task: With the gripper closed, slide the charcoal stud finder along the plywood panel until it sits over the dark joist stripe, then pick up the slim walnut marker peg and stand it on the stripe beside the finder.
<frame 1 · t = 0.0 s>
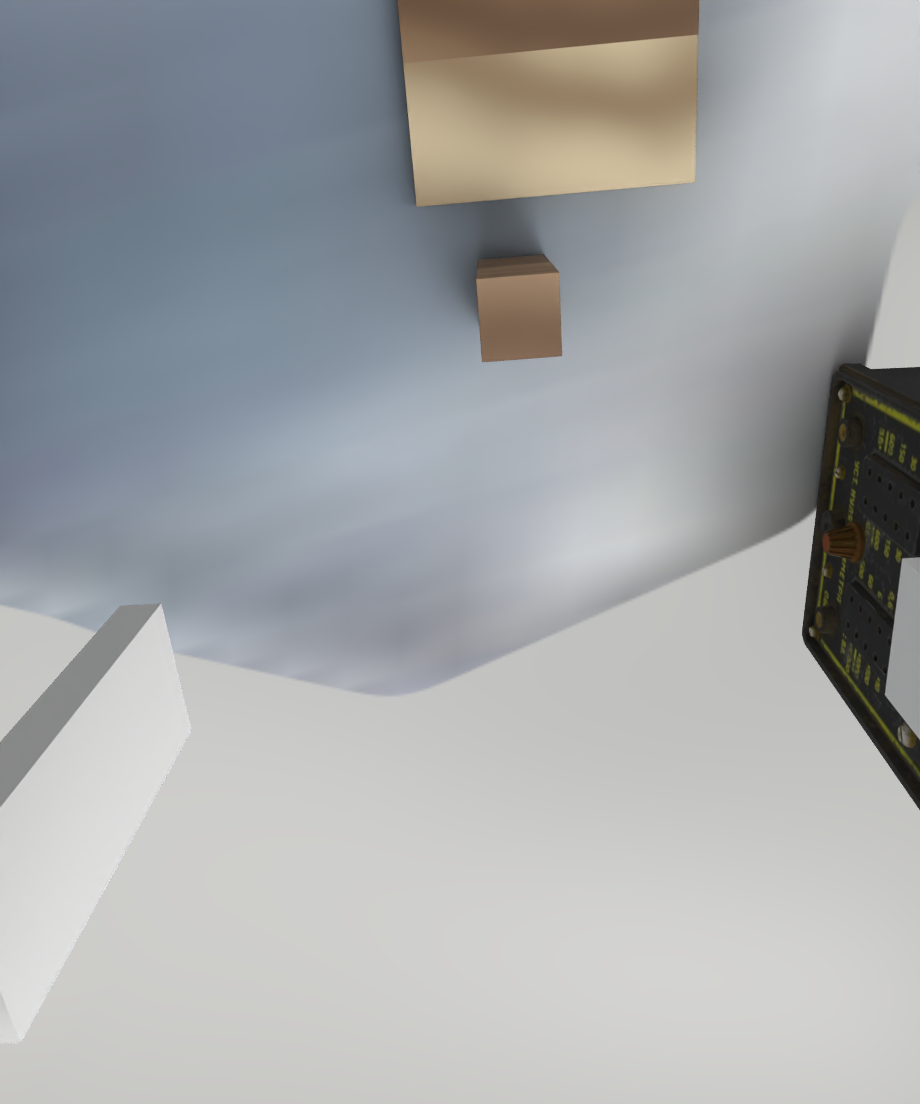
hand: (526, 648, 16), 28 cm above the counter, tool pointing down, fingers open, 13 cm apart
marker peg: (512, 291, 40), on the counter
voltmeter: (880, 506, 44), on the counter
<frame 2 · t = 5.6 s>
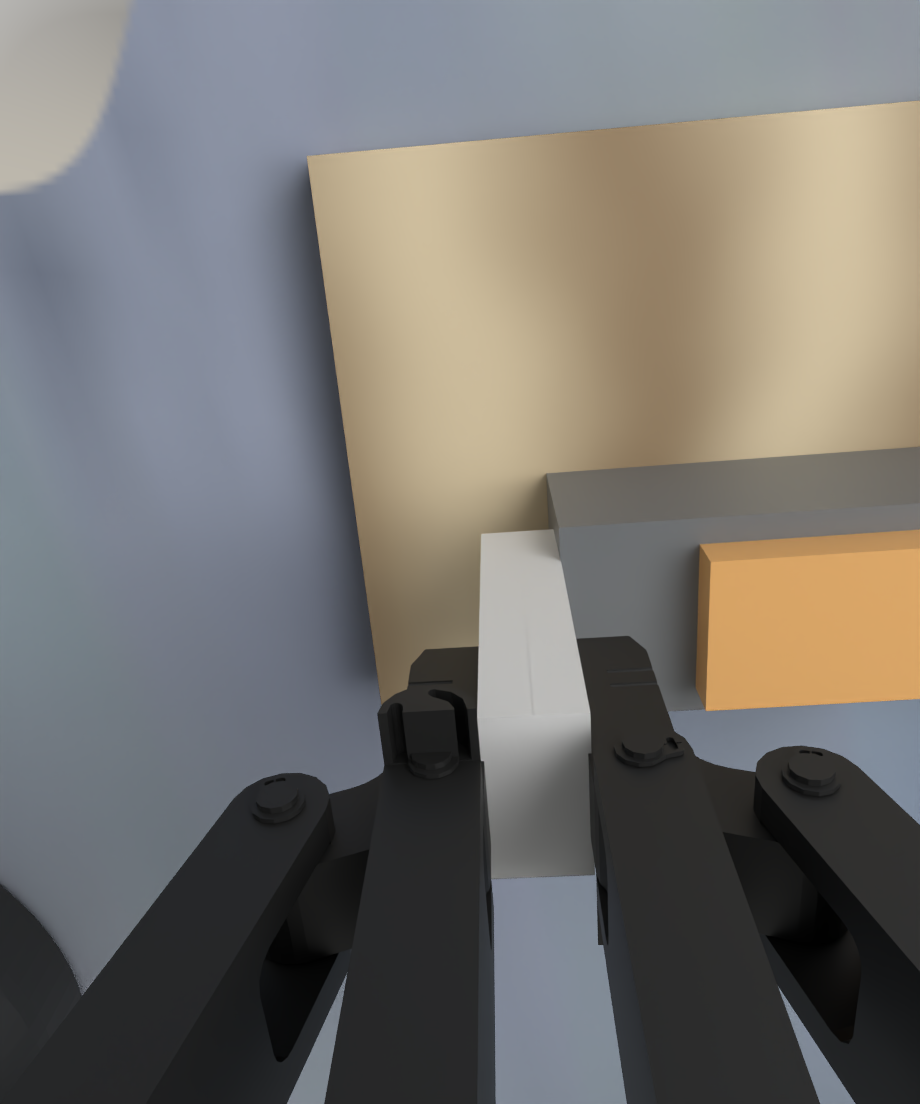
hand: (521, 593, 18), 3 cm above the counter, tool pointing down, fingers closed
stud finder: (732, 547, 19), point 1 cm above the counter, touching gripper
plywood panel: (898, 409, 19), on the counter
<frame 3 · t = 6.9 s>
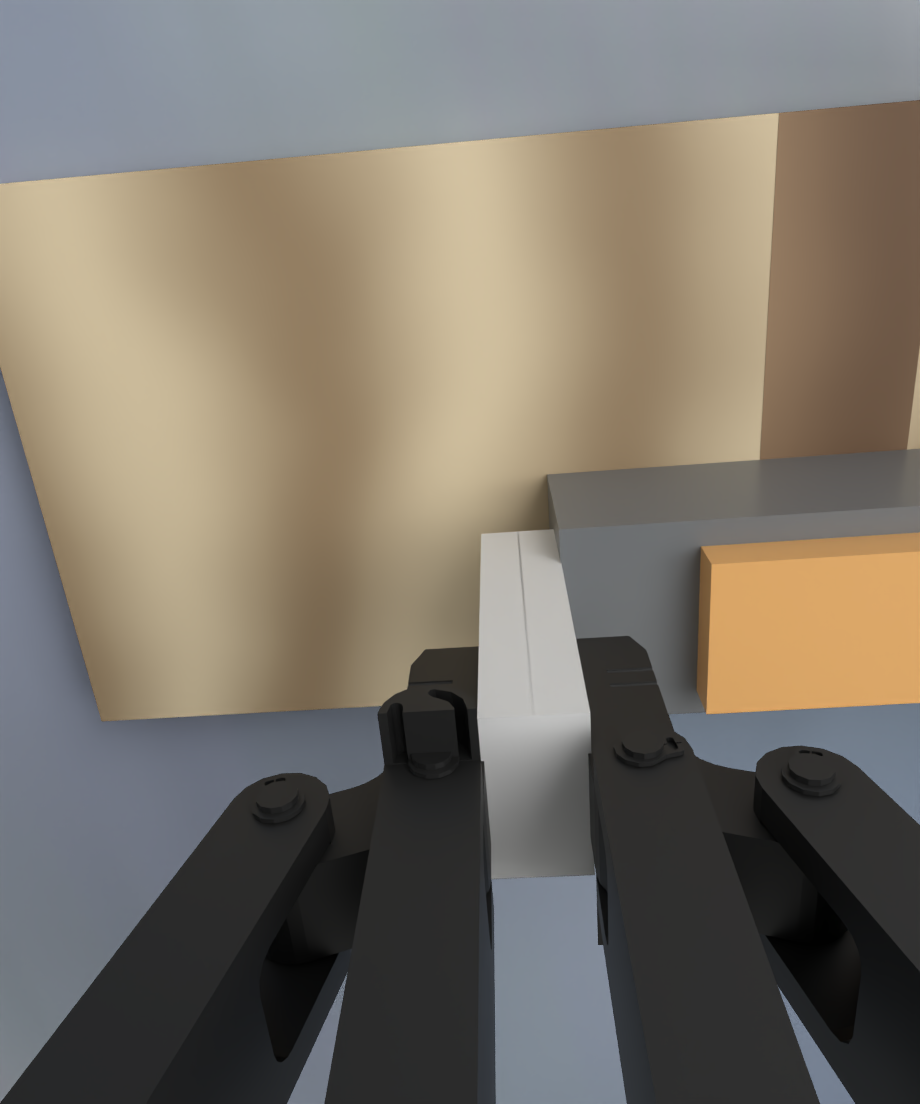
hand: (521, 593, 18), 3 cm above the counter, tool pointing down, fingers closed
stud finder: (734, 549, 19), point 1 cm above the counter, touching gripper
plywood panel: (584, 433, 19), on the counter
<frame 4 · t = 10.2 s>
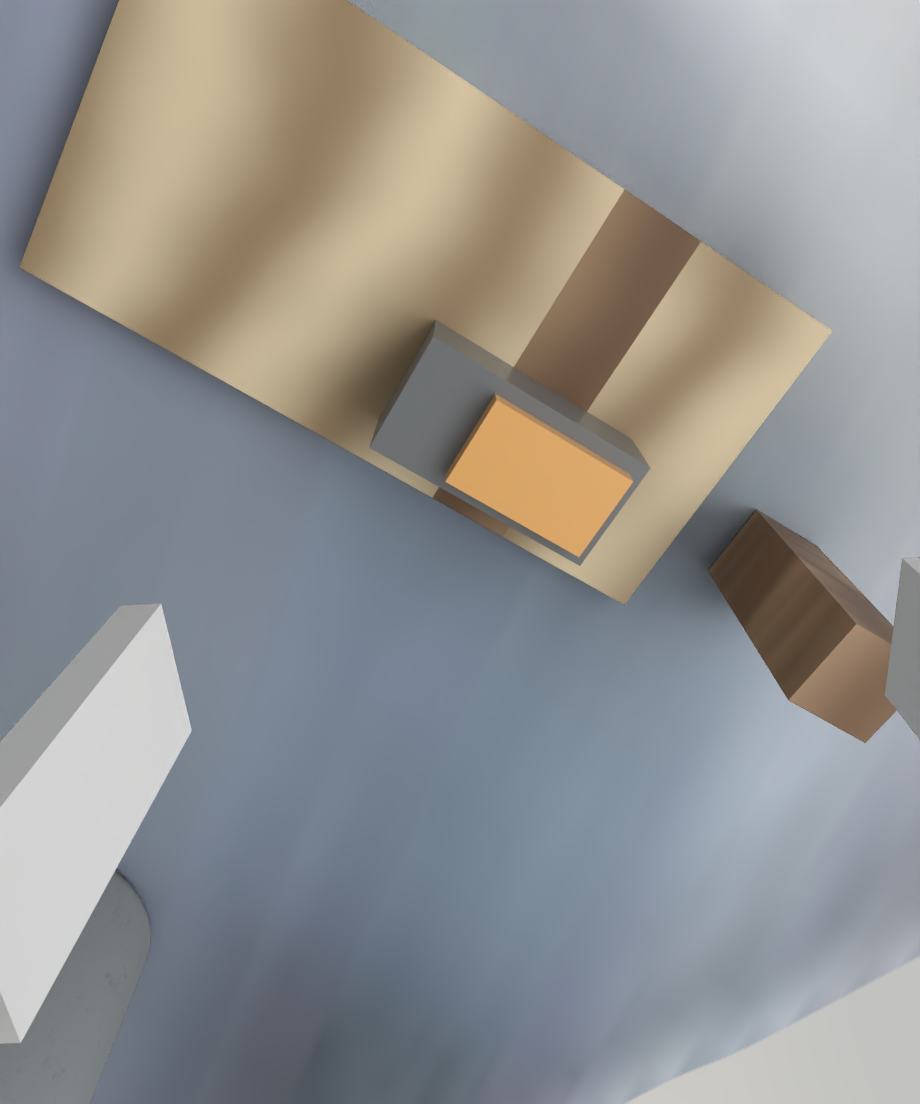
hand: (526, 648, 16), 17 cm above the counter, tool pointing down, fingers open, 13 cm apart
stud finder: (505, 429, 30), point 1 cm above the counter, touching plywood panel
marker peg: (762, 558, 34), on the counter
water bottle: (58, 912, 41), on the counter
plywood panel: (433, 294, 29), on the counter
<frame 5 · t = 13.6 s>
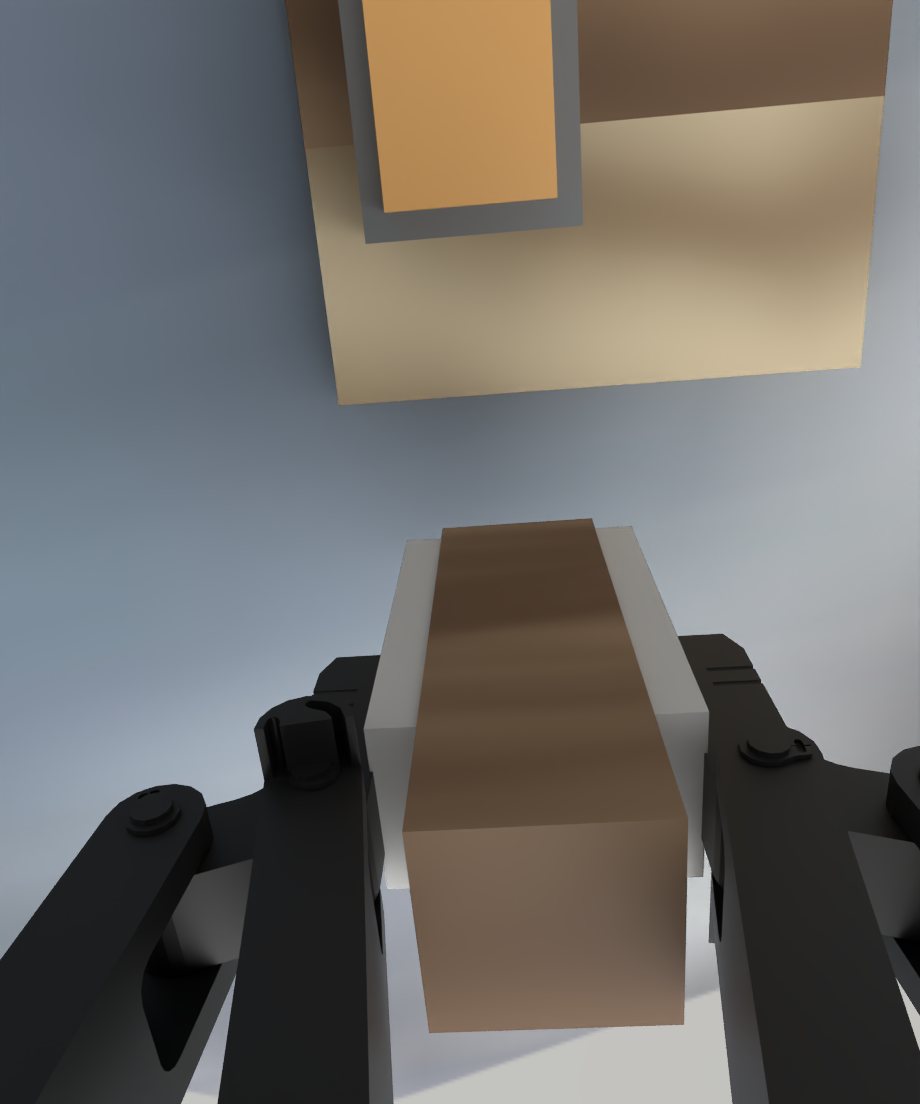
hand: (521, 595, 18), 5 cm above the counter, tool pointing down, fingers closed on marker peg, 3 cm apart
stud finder: (461, 20, 17), point 1 cm above the counter, touching plywood panel
marker peg: (521, 590, 18), point 5 cm above the counter, touching gripper
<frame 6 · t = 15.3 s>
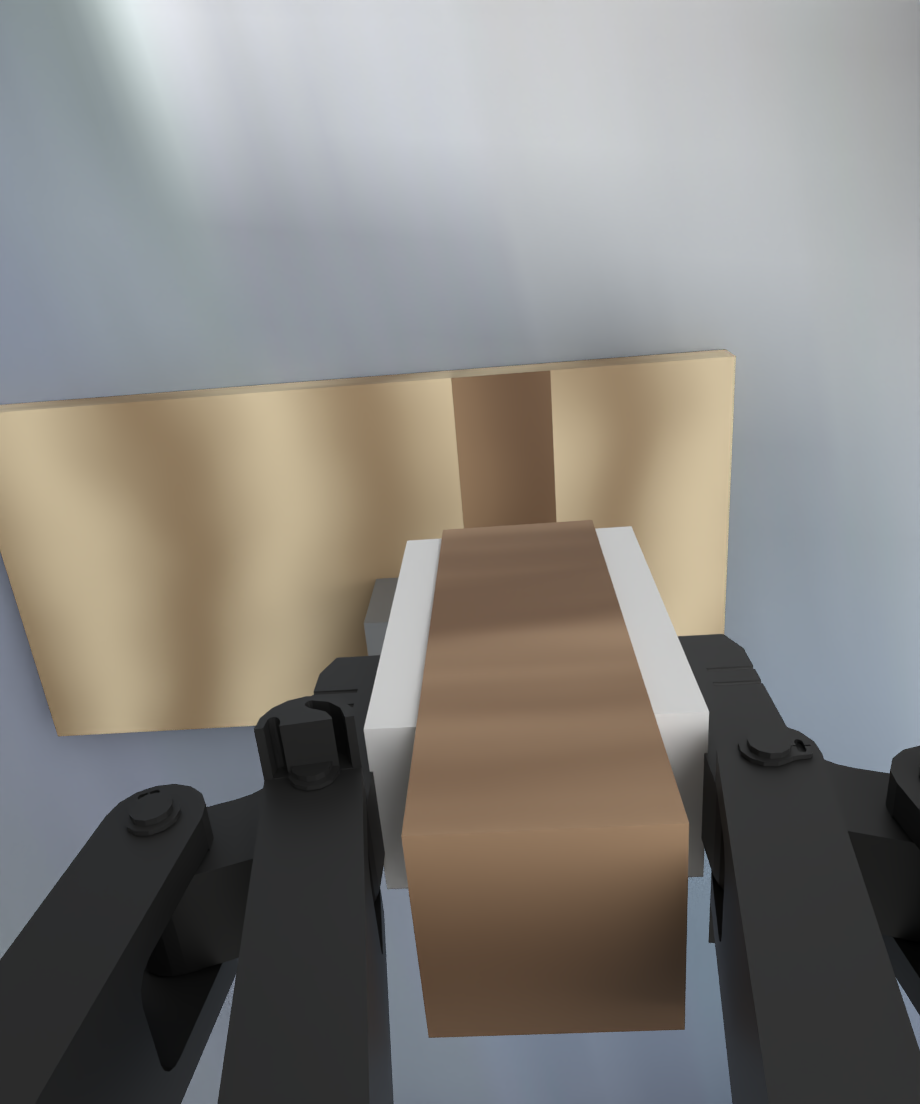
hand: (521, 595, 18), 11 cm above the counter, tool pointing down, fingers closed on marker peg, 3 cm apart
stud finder: (499, 624, 29), point 1 cm above the counter, touching plywood panel
marker peg: (521, 592, 18), point 11 cm above the counter, touching gripper
plywood panel: (366, 552, 30), on the counter
when the fingers open (2 cm above the counter, at t = 17.1 s): marker peg stays where it is, resting on plywood panel.
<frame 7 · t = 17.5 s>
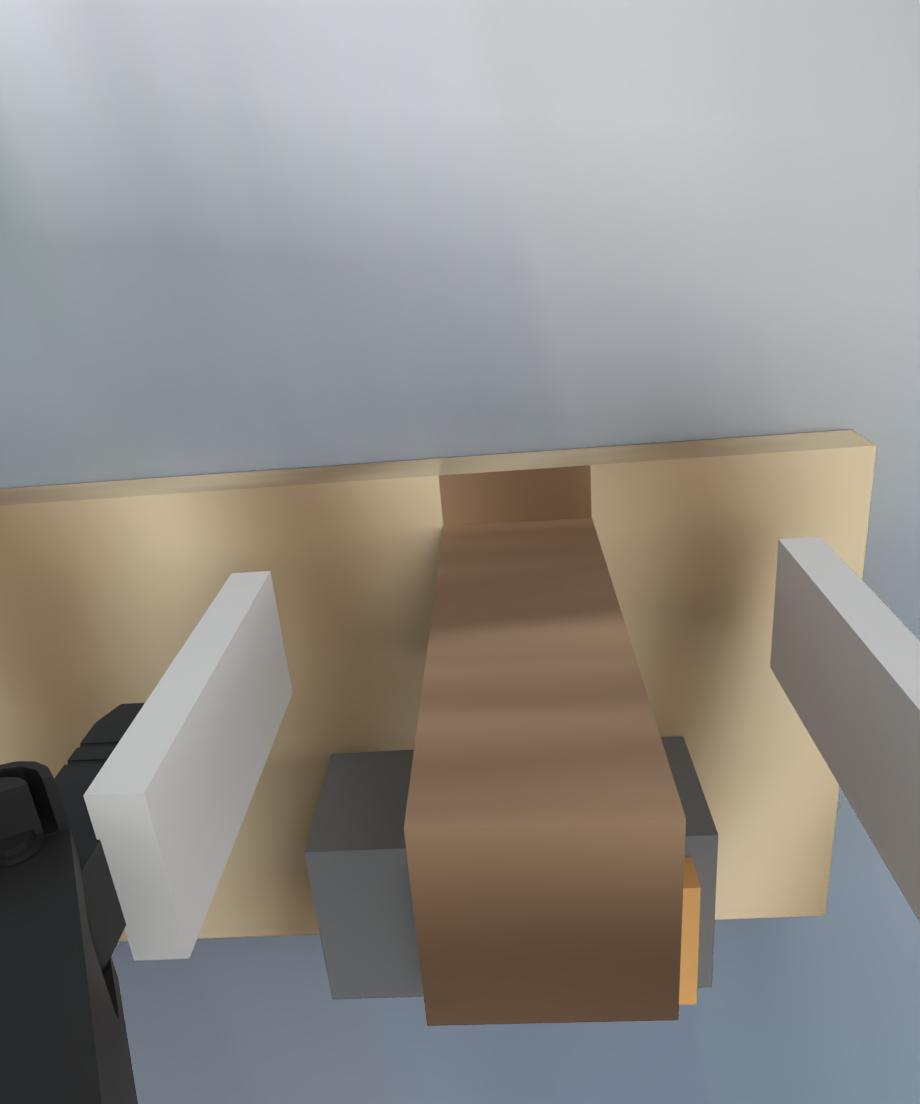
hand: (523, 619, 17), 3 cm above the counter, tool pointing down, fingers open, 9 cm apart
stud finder: (510, 815, 20), point 1 cm above the counter, touching plywood panel
marker peg: (520, 588, 18), point 1 cm above the counter, touching plywood panel
plywood panel: (319, 707, 21), on the counter
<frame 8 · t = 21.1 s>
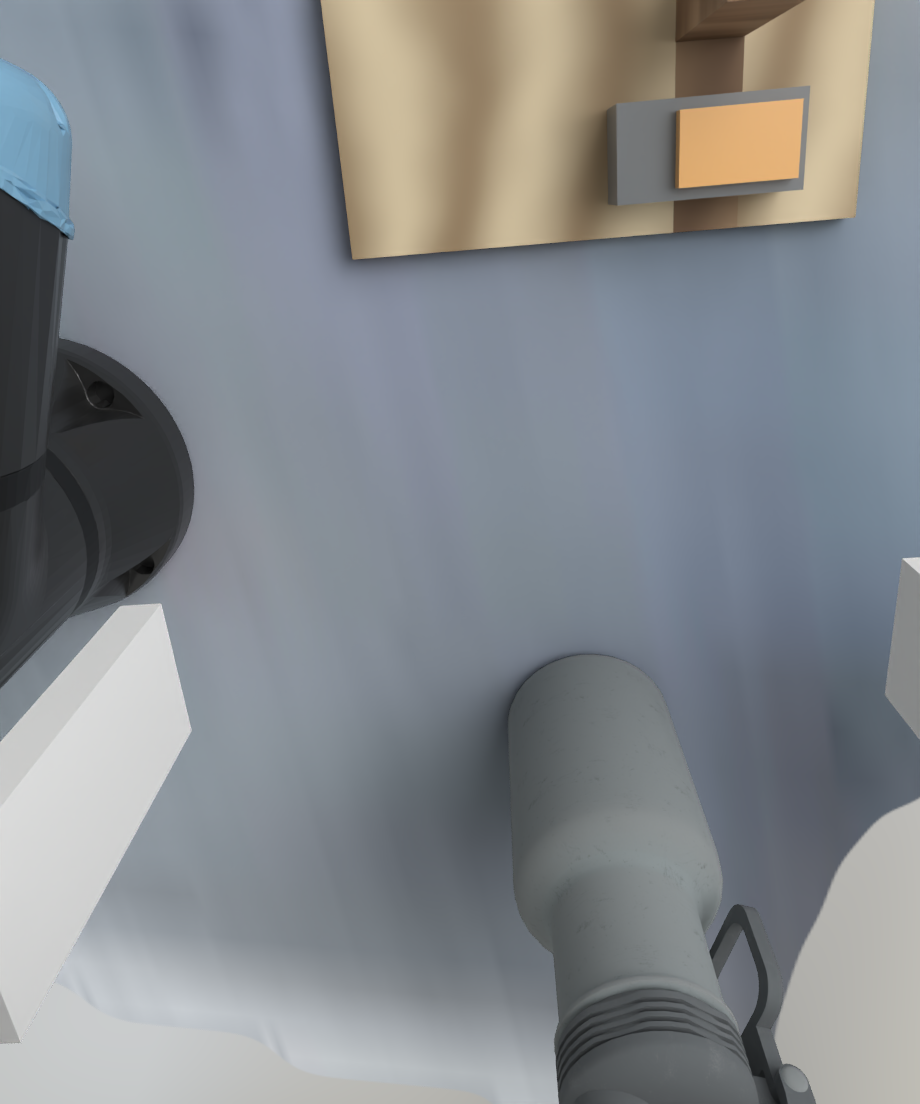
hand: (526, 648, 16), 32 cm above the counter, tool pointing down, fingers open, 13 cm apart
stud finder: (694, 150, 40), point 1 cm above the counter, touching plywood panel
water bottle: (589, 716, 54), on the counter
plywood panel: (594, 101, 40), on the counter
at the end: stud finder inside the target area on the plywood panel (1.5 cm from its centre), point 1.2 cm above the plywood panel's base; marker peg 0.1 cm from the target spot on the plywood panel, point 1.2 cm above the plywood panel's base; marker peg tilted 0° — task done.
